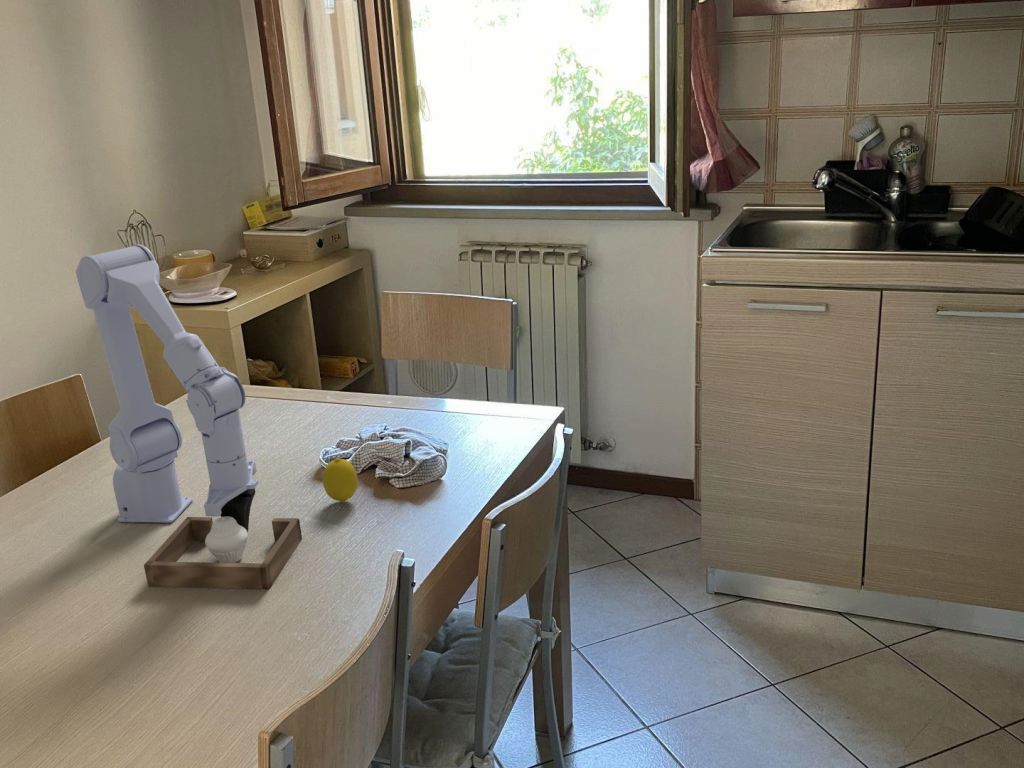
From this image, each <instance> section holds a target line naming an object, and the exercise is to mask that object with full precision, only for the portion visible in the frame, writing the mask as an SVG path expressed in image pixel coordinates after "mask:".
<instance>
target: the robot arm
mask: <svg viewBox="0 0 1024 768" xmlns="http://www.w3.org/2000/svg"><path fill="white" fill-rule="evenodd" d="M75 274H76V278H77V283H78V286H79V289H80V294H81V295H82V296H81V297H82V300H83V302H84V305H85V308H86V309H88V310H92V312H93V315H94V318H95V322H96V326H97V329H98V333H99V336H100V341H101V343H102V348H103V350H104V353H105V357H106V358H105V359H106V361H107V363H108V369H109V373H110V375H111V379H112V382H113V386H114V390H115V392H116V396H117V400H118V403H119V407H120V409H119V411H118V412H117V414H116V415H115V416H114V418H113V419H112V420H111V422H110V423H109V424H108V426H107V430H108V434H109V451H110V454H111V457H112V458H113V460H114V462H115V463H116V464H117V466H116V467H115V469H114V472H113V477H112V487H113V491H114V496H115V501H116V505H117V510H118V514H119V517H118V518H117V521H118V523H170V524H171V523H173V522H174V521H175V520H176V519H177V518H178V517H179V516H180V515H181V514H182V513H183V511H184V510H186V508H188V506H189V505H190V504H191V503H192V502H193V500H194V499H193V497H183V496H182V493H181V488H180V487H181V486H180V484H179V483H180V482H179V478H178V473H177V468H176V462H175V459H176V458H178V457H179V456H178V451H179V450H180V449H181V447H182V444H183V434H182V431H181V428H180V427H179V425H178V423H177V422H176V420H175V417H174V414H173V412H172V410H171V408H169V407H166V406H165V405H162V404H159V403H157V402H156V401H155V397H154V394H153V391H152V387H151V382H150V380H149V375H148V372H147V367H146V365H145V360H144V358H143V353H142V350H141V346H140V342H139V339H138V335H137V331H136V327H135V323H134V321H133V316H132V313H131V306H132V307H133V309H134V310H135V311H136V312H137V313H138V314H139V316H141V318H142V319H143V320H144V321H145V322H146V324H147V325H148V327H150V329H151V330H152V331H153V332H154V334H155V335H156V336H157V338H158V339H159V340H160V341H161V342H162V344H163V345H164V346H163V347H164V348H163V353H162V356H163V359H164V360H165V362H166V363H167V364H168V366H169V368H170V369H171V371H172V372H173V373H174V375H175V377H176V378H177V379H178V381H179V382H180V384H181V385H182V386H183V388H184V389H185V390H186V393H187V399H186V401H185V402H186V405H187V406H186V407H187V408H188V410H189V412H190V413H191V415H192V417H193V420H194V423H195V427H196V428H197V430H198V432H200V434H201V438H202V445H203V449H204V454H205V455H204V456H205V460H206V461H205V462H206V467H207V471H208V476H209V477H208V478H209V482H210V483H209V486H208V492H207V493H208V494H207V500H206V501H205V502H204V504H203V507H204V512H205V517H212V518H214V517H217V518H220V517H224V516H229V517H232V518H234V519H235V520H236V522H237V524H239V525H240V526H242V527H244V528H245V529H246V531H247V533H248V534H249V526H250V525H249V524H250V516H251V515H250V514H251V507H252V502H253V500H254V498H255V495H256V487H257V486H258V485H259V479H257V478H253V476H254V475H255V474H256V473H257V465H256V461H255V460H248V456H247V451H246V450H247V449H246V445H245V439H244V438H245V437H244V433H243V426H242V420H241V415H240V409H242V408H243V407H244V405H245V404H246V391H245V389H244V386H243V384H242V382H241V381H240V379H239V377H238V376H237V375H236V374H235V373H233V372H231V371H229V370H227V368H226V367H225V366H220V365H219V364H218V363H217V361H216V360H215V358H214V357H213V356H212V353H210V351H209V349H208V348H207V347H206V345H205V344H204V342H203V341H202V339H201V338H200V337H199V335H198V334H195V333H190V332H187V331H186V329H185V328H184V326H183V324H182V322H181V321H180V319H179V317H178V315H177V314H176V311H175V310H174V308H173V306H172V304H171V303H170V302H169V299H168V298H167V296H166V294H165V293H164V291H163V289H162V288H161V286H160V280H161V278H160V276H161V275H160V267H159V264H158V263H157V261H156V259H155V256H154V255H153V253H152V251H150V249H149V248H148V247H146V246H145V245H143V244H139V243H137V244H133V245H132V246H128V247H124V248H120V249H116V250H115V249H114V250H110V251H107V252H103V253H102V252H100V253H98V254H93V255H84V256H82V258H81V259H80V260H79V262H78V265H77V267H76V270H75Z"/></svg>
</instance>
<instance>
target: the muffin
mask: <svg viewBox="0 0 1024 768" xmlns="http://www.w3.org/2000/svg"><path fill="white" fill-rule="evenodd" d="M248 539H249V532H248V533H247V531H246V529H245V528H244V527H242V526H240V525H239V524H237V522H236V520H235V519H234V518H232V517H229V516H224V517H221V516H219V517H217V519H214V521H213V523H212V529H211V531H210V533H209V534H208V535H207V537H206V539H205V540H204V544H205V546H206V548H207V549H208V551H209V553H210V554H211V555H212V556H213V557H214V558H215V560H217V561H218V563H239V561H240V560H241V559H242V557H243V555H244V551H245V549H246V547H247V543H248Z"/></svg>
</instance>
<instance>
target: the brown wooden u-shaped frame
mask: <svg viewBox="0 0 1024 768" xmlns="http://www.w3.org/2000/svg"><path fill="white" fill-rule="evenodd" d="M213 522H214V521H213V517H212V516H201V517H200V516H186V518H185V519H184V520H183V521H182V522H181V523H180V524H179V526H177V528H176V529H175V530H174V531H173V532H172V533H171V534H170V535H169V537H167V539H166V540H165V541H164V542H163V543H162V544H161V545H160V547H159V548H158V549H157V550H156V551H155V552H154V553H153V554H152V555H151V557H149V559H148V560H147V561H146V562H145V563H144V564H143V568H144V573H145V578H146V583H147V585H148V586H147V587H157V588H158V587H160V588H161V587H163V588H164V587H165V588H166V587H167V588H198V589H199V588H200V589H201V588H206V589H207V588H208V589H210V588H211V589H243V590H244V589H245V590H249V589H250V590H270V589H271V587H272V586H273V584H274V583H275V581H276V580H277V578H278V577H279V576H280V574H281V572H282V571H283V569H284V568H285V566H286V564H287V563H288V561H289V559H291V556H292V555H293V553H294V552H295V550H296V548H297V547H298V545H299V544H300V542H302V541H301V540H302V539H303V535H302V528H301V522H300V518H297V517H295V518H294V517H290V518H288V517H286V518H285V517H283V518H282V517H273V519H272V520H271V525H272V531H273V532H272V533H273V539H274V542H275V544H274V545H273V547H272V548H271V550H270V551H269V552H268V553H267V555H266V556H265V557H264V560H263V561H262V563H259V562H255V563H253V562H251V563H250V562H236V563H220V562H209V561H208V562H206V561H205V562H202V561H198V562H197V561H196V562H195V561H194V562H193V561H178V560H179V559H180V558H181V557H182V555H183V554H185V552H186V551H187V550H188V549H189V547H190V546H191V544H193V542H194V541H205V539H206V537H207V535H208V534H209V533H210V531H211V529H212V523H213Z"/></svg>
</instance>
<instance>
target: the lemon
mask: <svg viewBox="0 0 1024 768" xmlns="http://www.w3.org/2000/svg"><path fill="white" fill-rule="evenodd" d="M322 476H323V477H322V483H323V484H322V485H323V488H324V490H325V492H326V494H327V496H328V497H329V498H330V499H332V500H334V501H339V502H340V503H341V504H343V503H345V502H346V501H347V500H349V499H351V498H352V497H353V496H354V495H355V493H356V491H357V489H358V475H357V472H356V469H355V467H354V465H353V464H352V463H351V462H350V461H348V460H347V459H344V458H343V459H342V458H340V457H336V458H335V459H333V460H332V461H330V462H329V463H327V465H326V466H325V468H324V471H323V474H322Z"/></svg>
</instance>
